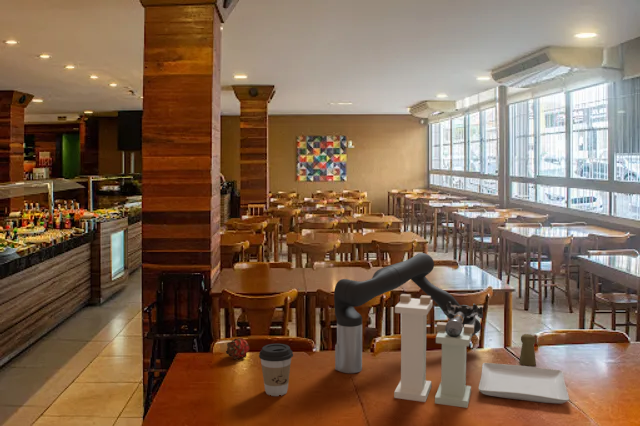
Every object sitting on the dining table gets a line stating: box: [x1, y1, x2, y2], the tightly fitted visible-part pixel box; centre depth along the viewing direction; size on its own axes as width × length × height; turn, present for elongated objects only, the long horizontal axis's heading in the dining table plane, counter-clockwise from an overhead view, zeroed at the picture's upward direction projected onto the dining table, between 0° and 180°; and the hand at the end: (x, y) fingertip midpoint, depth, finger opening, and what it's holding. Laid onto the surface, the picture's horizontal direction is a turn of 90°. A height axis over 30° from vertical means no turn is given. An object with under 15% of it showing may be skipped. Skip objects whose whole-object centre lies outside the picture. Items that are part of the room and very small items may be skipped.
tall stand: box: [393, 293, 434, 403], centre depth 185 cm, size 10×13×32 cm
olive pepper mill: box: [518, 333, 537, 367], centre depth 213 cm, size 6×6×11 cm
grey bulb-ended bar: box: [445, 312, 464, 337], centre depth 185 cm, size 20×5×5 cm, turn 161°
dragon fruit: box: [225, 337, 250, 360], centre depth 221 cm, size 8×8×12 cm
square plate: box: [478, 362, 570, 405], centre depth 190 cm, size 27×27×4 cm
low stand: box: [434, 321, 474, 409], centre depth 182 cm, size 12×13×24 cm
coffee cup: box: [258, 343, 294, 397], centre depth 187 cm, size 11×11×15 cm
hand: (461, 305), depth 201 cm, fingers open, 8 cm apart
